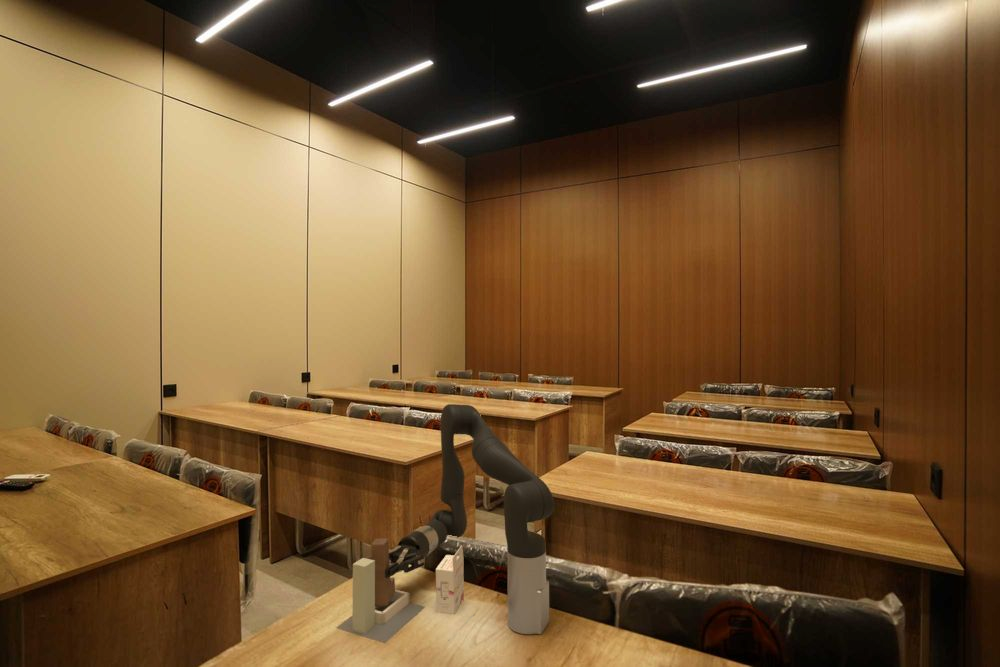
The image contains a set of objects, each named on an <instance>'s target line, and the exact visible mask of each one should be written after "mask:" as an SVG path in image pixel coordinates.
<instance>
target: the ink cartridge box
mask: <svg viewBox="0 0 1000 667" xmlns="http://www.w3.org/2000/svg"><path fill="white" fill-rule="evenodd" d="M463 549H464V548H463V545H462V544H461V545H460V547H459V548H458V549H457V551H456V552H455V554H454V555H453V554H452V555H451V554H445V556H444V558H442V560H441V561H440V562H439V564H438V565H437V567H436V568H435V595H436V596H435V598H436V599H435V605H436V607H435V608H436V613H439V614H447V615H455V614H456V612H457V610H458V609H459V607H460V605H461V602H462V601H464V598H465V593H464V590H465V589H464V588H465V584H464V582H465V581H464V579H465V578H464V577H465V574H464V572H465V571H464V565H465V564H464V562H465V561H464V550H463Z"/></svg>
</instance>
